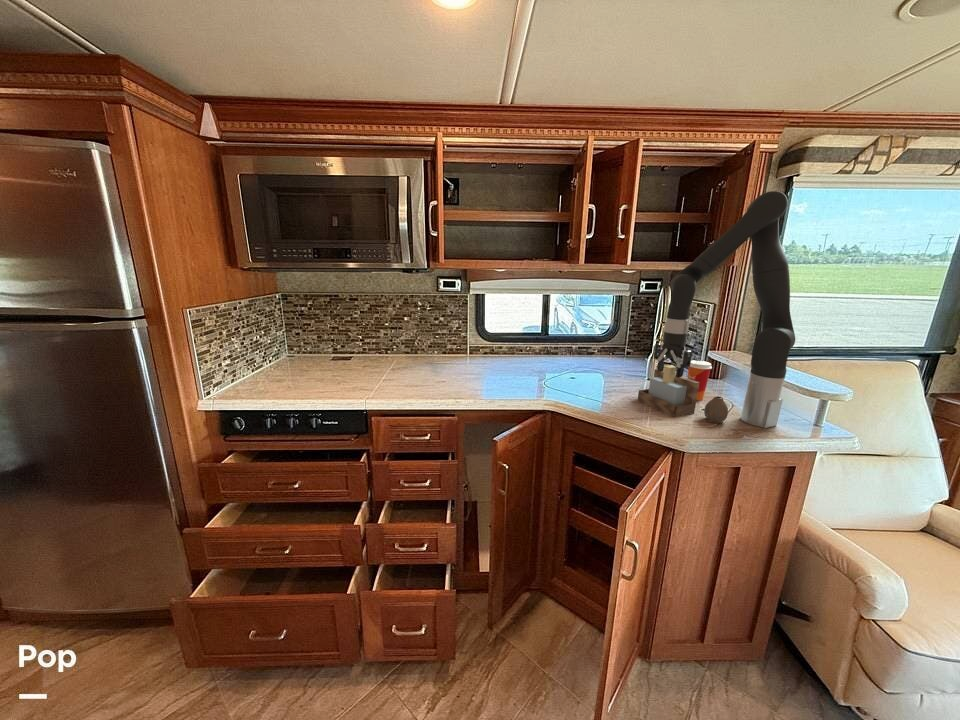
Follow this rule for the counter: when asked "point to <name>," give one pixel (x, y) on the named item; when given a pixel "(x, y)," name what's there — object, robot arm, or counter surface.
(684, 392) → the grey block with handle
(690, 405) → the brown wooden box
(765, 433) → the counter surface
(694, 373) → the coffee cup
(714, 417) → the brown rounded pot shape
